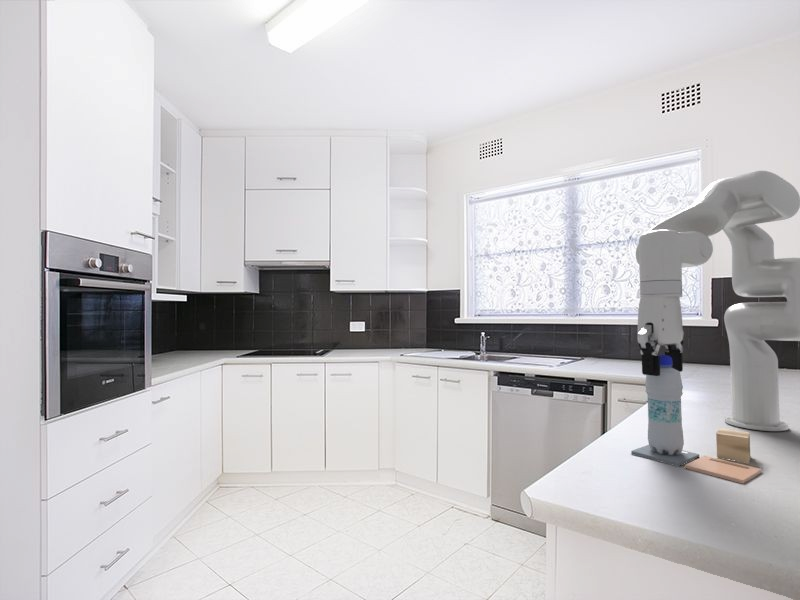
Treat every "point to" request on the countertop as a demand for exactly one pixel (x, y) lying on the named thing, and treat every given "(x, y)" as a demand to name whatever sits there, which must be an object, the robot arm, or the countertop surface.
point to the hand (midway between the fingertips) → (662, 372)
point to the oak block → (733, 445)
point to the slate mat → (665, 455)
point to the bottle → (665, 409)
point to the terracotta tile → (724, 469)
